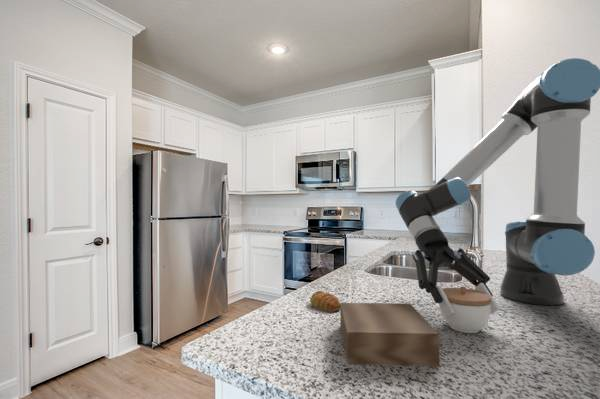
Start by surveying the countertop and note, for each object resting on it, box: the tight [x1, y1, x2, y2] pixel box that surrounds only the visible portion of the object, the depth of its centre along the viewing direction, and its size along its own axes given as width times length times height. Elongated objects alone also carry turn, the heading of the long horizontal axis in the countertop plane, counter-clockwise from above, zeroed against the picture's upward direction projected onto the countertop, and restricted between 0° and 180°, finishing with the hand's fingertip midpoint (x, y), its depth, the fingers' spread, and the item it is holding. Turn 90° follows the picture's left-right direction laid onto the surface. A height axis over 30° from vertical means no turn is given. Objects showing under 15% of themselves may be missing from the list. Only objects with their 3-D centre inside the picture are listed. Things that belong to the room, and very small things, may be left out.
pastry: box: [309, 290, 341, 313], centre depth 82 cm, size 9×7×4 cm
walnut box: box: [339, 302, 440, 367], centre depth 60 cm, size 16×16×6 cm
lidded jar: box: [438, 285, 491, 334], centre depth 67 cm, size 11×11×9 cm
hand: (473, 313), depth 65 cm, fingers closed on lidded jar, 11 cm apart
